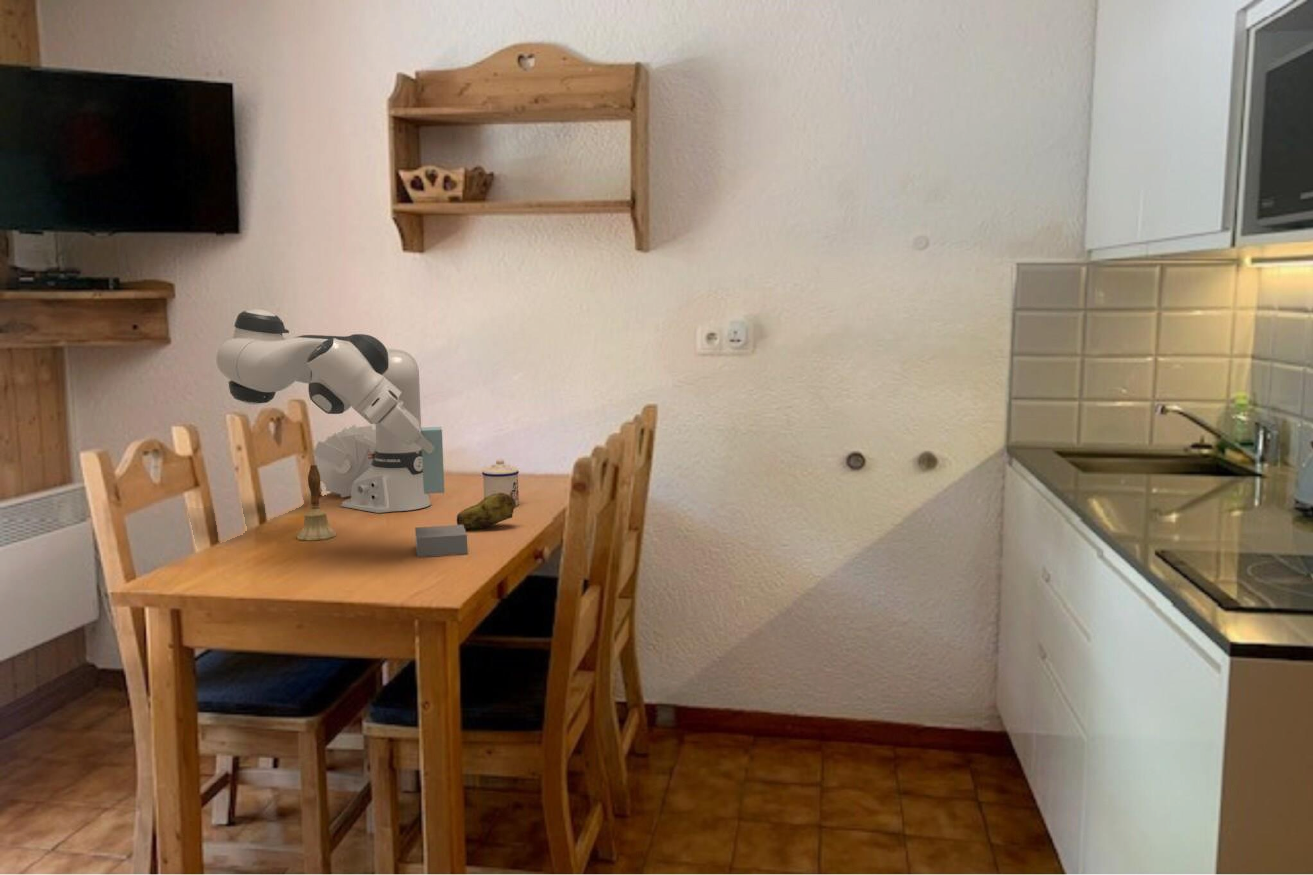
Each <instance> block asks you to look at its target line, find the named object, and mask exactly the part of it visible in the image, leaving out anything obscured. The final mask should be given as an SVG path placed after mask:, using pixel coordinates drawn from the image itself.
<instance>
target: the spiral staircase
mask: <svg viewBox="0 0 1313 875" xmlns="http://www.w3.org/2000/svg"><path fill="white" fill-rule="evenodd" d="M376 451H377V446H376V428H373V426H372V425H369V426H368V425H366V426H358V427H357V426H356V424H354V423H353V424H352V425H351V427H349V428H347V427H344V428H343V429H342V430H341V431H338V432H337V433H334V434H332V435H331V436H327V437H326V440H324V441H321V440H318V442H317V444H316V446H315V448H314V450H313V453H312V456H314V457H315V458H313V459H314V462H315V465H317V469H318V471H319V474H320V483H322V484H324V485H325V486H326V487H325V490H324V491H326V492H330V493H334V494H338V495H340V497H341V499H342V498H346V497H351V489H352V484H353V482H354V481H355V480H356V479H357V478H358V477H359V476H360V475H362V474H363V473H364V472H365V471H366V470H367V469H368V468H370V467H371V466H372V465H371V464H372V460H373V458H372V459H368V458H369V457H371V455H369V454H373V453H375V452H376ZM368 455H369V456H368Z"/></svg>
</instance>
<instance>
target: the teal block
mask: <svg viewBox="0 0 1313 875" xmlns="http://www.w3.org/2000/svg"><path fill="white" fill-rule="evenodd" d="M421 434H422V435H423V436H424V437H425V438H426V439H427V440H428V441H429V442H430V443H431V444H432V445H434V447H435V449H434V450H433V452H432V453H430V454H429V453H427V452H426V451H425V450H424V449H422V462H423V485H424V494H428V495H429V494H430V495H431V494H444V493H445V477H444V476H445V473H444V448H443V444H444V443H443V429H442V426H427V427H426V426H425V427H423V426H421Z"/></svg>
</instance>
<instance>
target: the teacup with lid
mask: <svg viewBox="0 0 1313 875" xmlns="http://www.w3.org/2000/svg"><path fill="white" fill-rule="evenodd" d="M481 473H482V477H483V480H482V481H483V482H482V483H483V499H484V498H486V497H488V496H490V495H492V494H497V493H505V494H507V495H510V496H511V497H513V498H514V500H515V503H516V504H515V507H517V506H519V503H520V501H519V500H520V499H519V497H520V496H519V469H518V468H517V467H514V466H511V465H510V464H508V463H506V462H505V460H504V459H496V461H495V463H494V464H492V465H491V466H488V467H485V468H484V469H483V470H482V472H481Z"/></svg>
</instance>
